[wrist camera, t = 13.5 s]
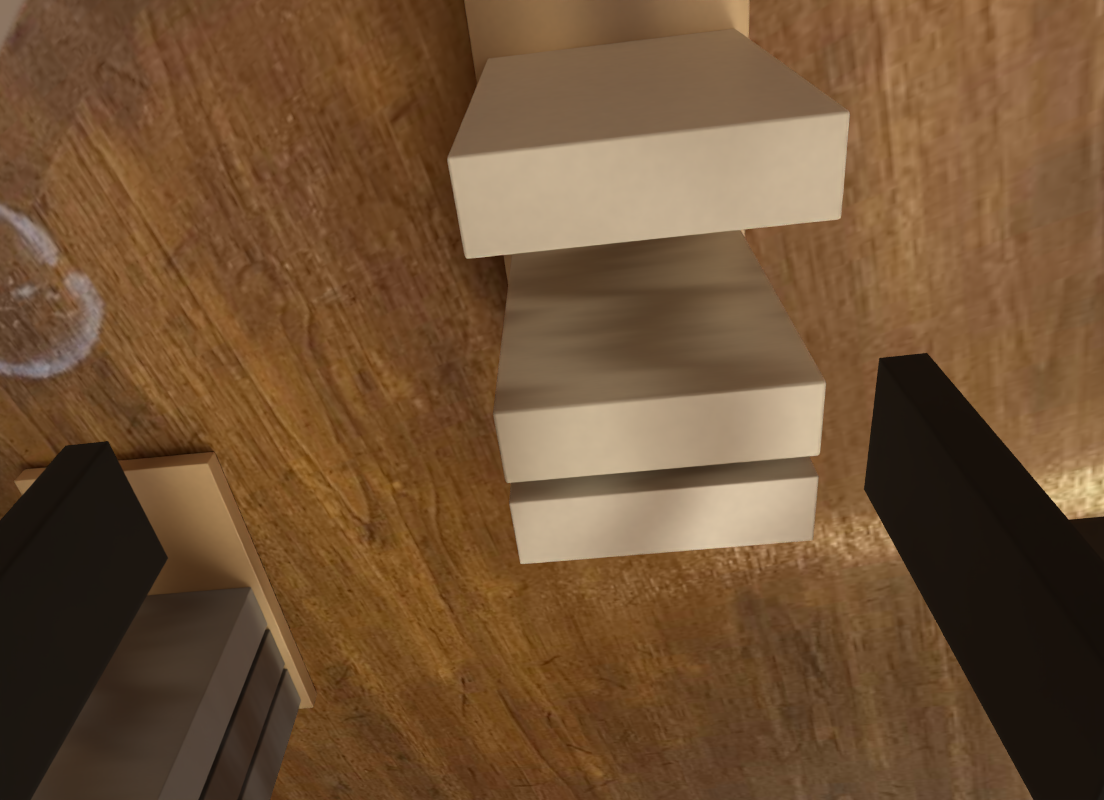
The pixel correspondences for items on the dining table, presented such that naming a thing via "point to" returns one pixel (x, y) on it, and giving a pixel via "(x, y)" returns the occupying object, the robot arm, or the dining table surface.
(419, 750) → the dining table surface
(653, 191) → the white book
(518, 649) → the dining table surface
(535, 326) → the beige stand
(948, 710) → the dining table surface
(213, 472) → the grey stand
